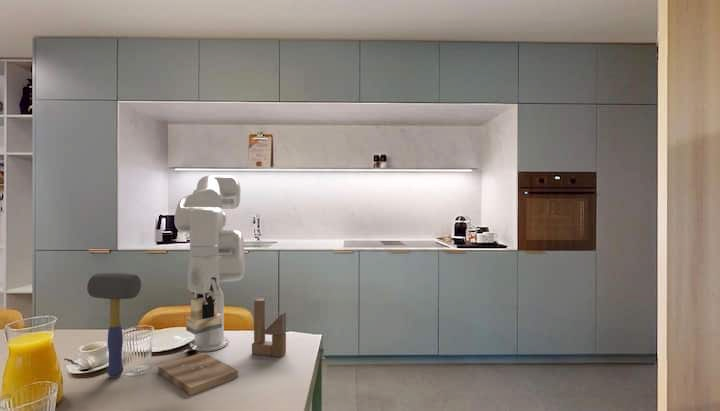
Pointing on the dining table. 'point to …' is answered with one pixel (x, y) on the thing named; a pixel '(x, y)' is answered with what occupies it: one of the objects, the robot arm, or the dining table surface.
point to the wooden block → (268, 332)
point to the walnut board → (197, 372)
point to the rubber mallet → (114, 310)
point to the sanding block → (196, 321)
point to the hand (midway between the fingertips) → (204, 315)
